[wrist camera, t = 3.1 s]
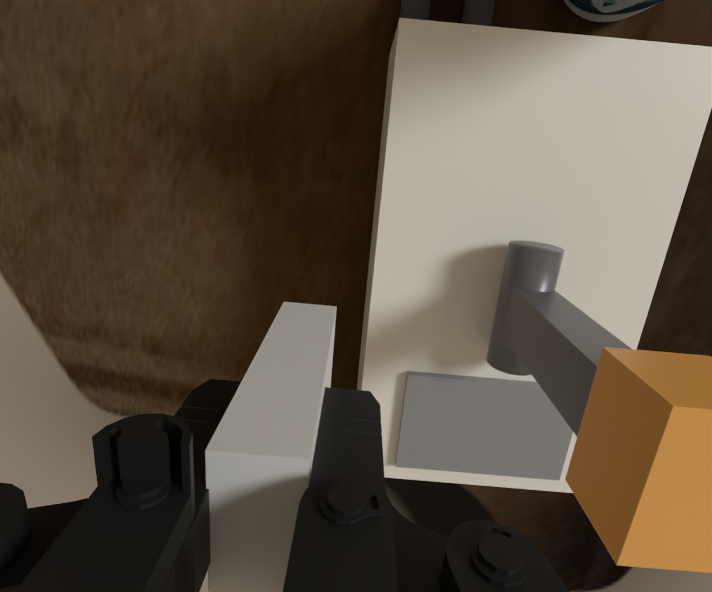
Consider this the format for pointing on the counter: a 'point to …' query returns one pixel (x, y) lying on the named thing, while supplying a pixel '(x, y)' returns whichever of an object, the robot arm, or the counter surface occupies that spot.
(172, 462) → the robot arm
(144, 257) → the counter surface
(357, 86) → the counter surface
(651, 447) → the lever
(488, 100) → the block
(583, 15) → the lotion bottle
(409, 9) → the parallel rod pair
